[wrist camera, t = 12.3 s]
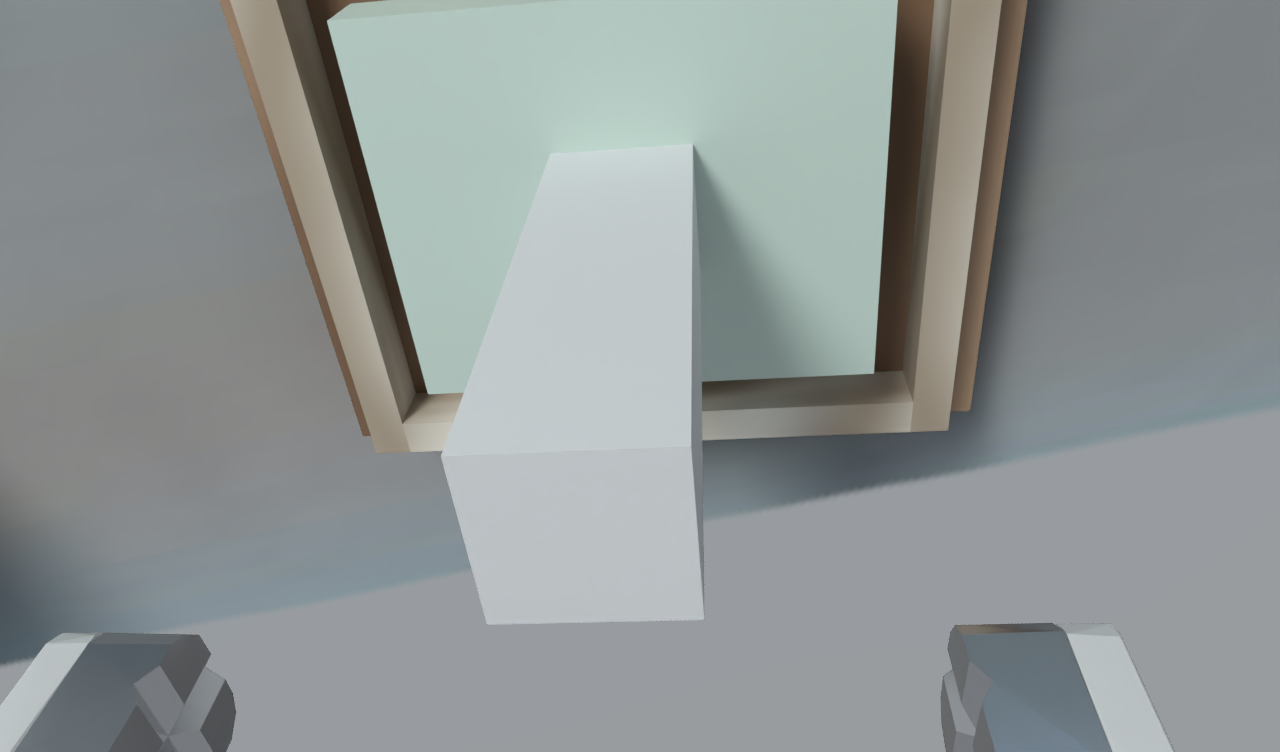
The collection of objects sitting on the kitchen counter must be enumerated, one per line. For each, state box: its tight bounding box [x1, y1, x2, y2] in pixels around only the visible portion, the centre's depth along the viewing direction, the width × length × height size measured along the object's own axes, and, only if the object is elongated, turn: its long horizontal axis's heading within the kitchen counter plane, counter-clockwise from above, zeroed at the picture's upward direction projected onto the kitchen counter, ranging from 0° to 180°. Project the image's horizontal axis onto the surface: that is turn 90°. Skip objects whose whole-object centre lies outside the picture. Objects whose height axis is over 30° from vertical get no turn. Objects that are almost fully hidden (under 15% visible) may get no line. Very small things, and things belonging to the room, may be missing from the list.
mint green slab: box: [327, 0, 898, 625], centre depth 17 cm, size 11×9×13 cm
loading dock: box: [220, 0, 1028, 453], centre depth 22 cm, size 18×19×4 cm
